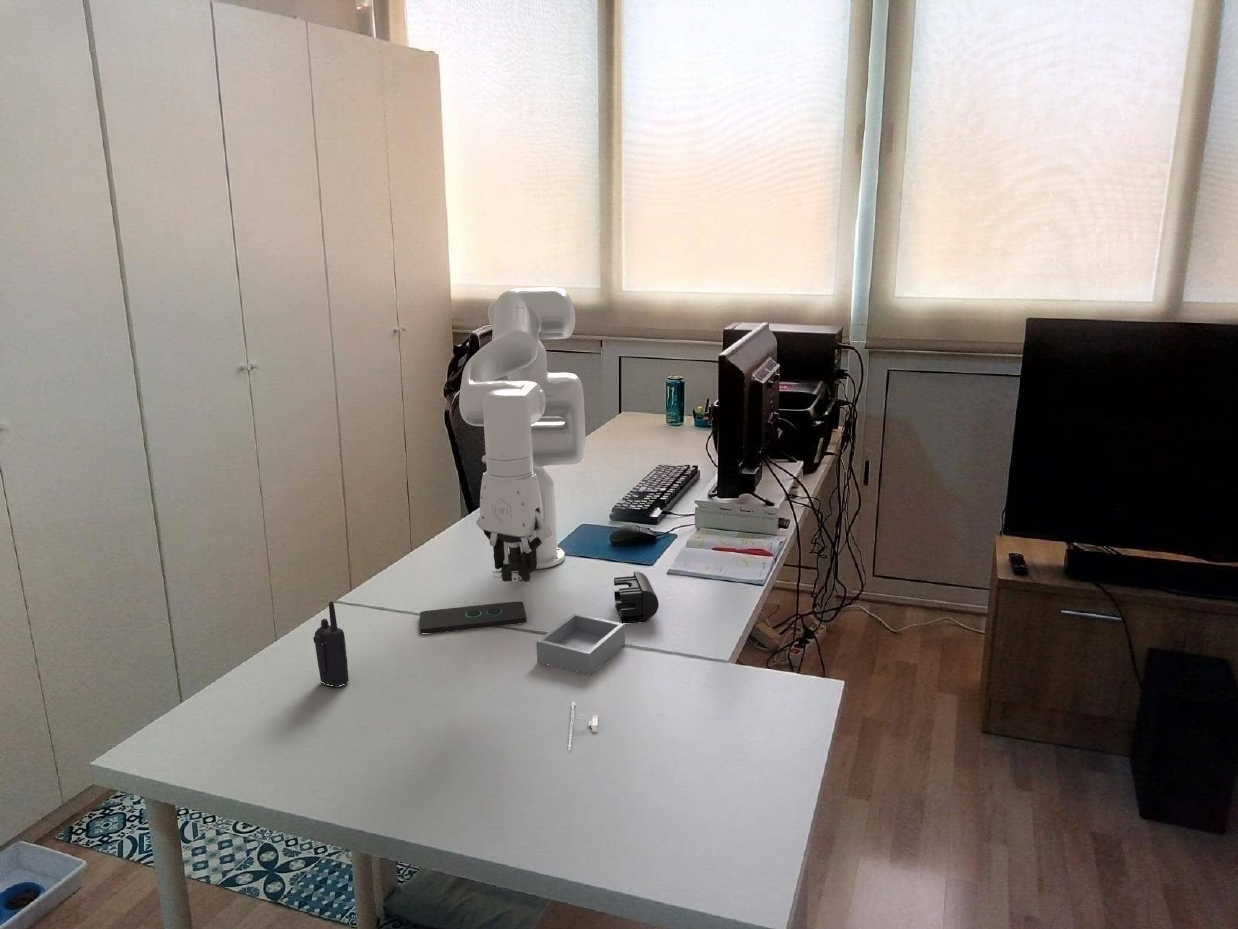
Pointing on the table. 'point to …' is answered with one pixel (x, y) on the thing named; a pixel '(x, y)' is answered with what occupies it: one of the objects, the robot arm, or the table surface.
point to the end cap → (635, 598)
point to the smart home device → (472, 617)
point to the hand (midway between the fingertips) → (515, 568)
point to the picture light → (592, 722)
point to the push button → (512, 560)
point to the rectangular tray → (581, 643)
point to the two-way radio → (331, 651)
